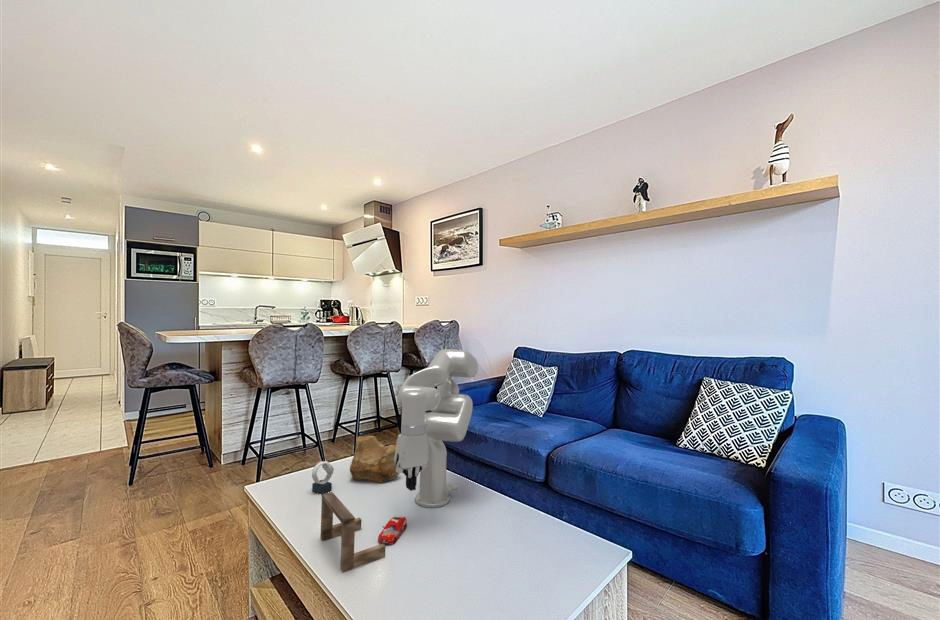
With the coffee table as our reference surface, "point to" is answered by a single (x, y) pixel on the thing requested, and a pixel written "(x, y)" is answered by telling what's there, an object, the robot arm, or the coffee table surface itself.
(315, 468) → the watch
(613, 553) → the coffee table surface
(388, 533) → the race car
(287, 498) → the coffee table surface
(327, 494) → the walnut tunnel
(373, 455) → the rough brown rock
